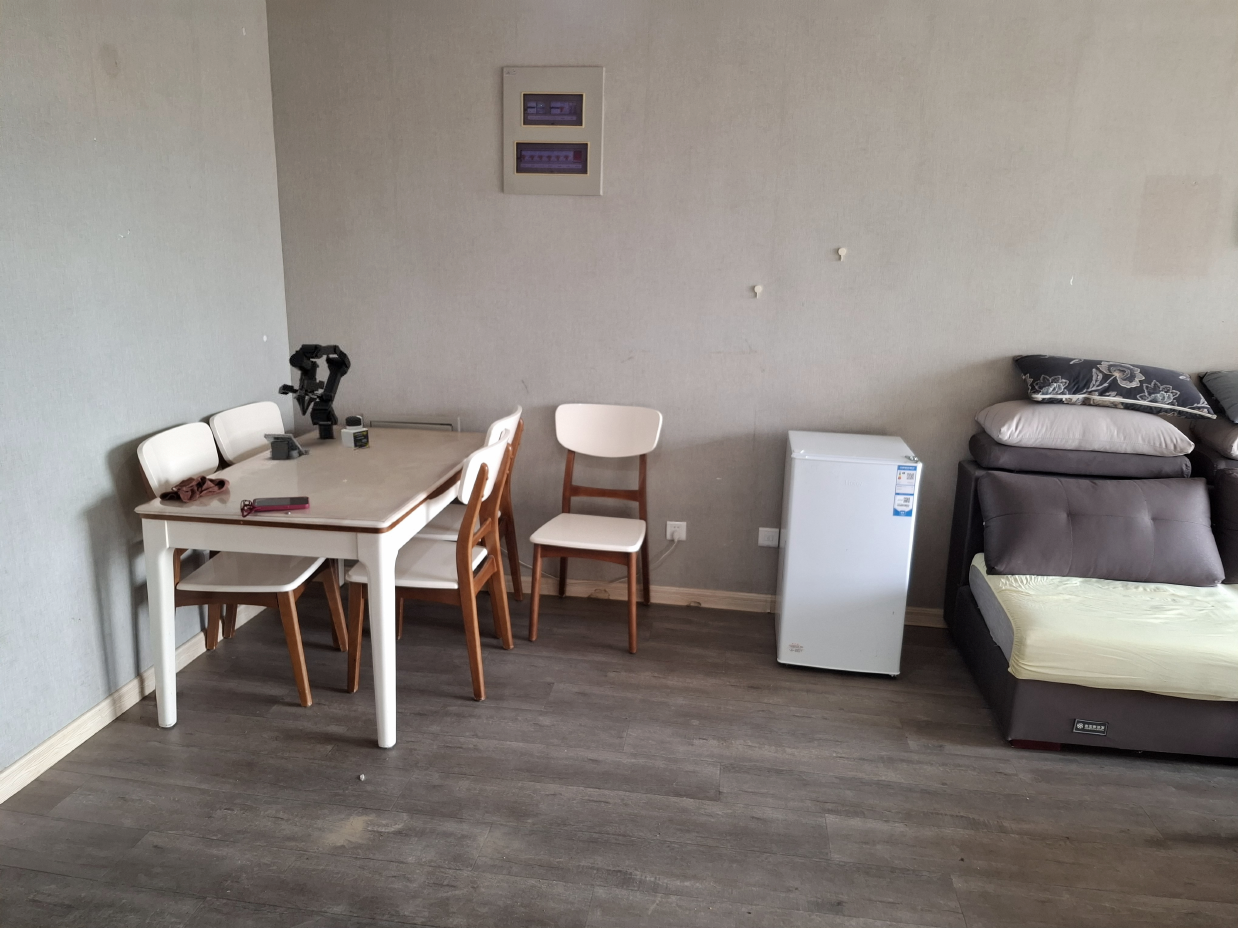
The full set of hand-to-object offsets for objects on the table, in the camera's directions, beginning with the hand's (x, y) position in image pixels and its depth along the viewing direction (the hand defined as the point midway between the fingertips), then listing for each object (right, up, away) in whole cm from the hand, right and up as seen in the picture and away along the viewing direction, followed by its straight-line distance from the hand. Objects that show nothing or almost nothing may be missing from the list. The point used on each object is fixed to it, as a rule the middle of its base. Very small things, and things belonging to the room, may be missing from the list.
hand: (303, 415), depth 311 cm
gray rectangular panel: (-1, -12, -14) cm, 18 cm away
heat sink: (-2, -16, -13) cm, 20 cm away
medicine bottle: (+18, -12, +6) cm, 22 cm away
